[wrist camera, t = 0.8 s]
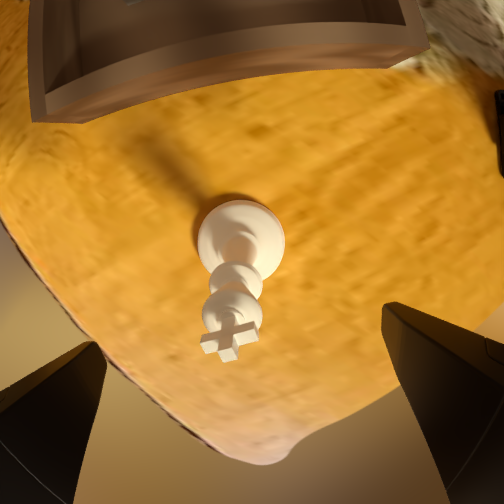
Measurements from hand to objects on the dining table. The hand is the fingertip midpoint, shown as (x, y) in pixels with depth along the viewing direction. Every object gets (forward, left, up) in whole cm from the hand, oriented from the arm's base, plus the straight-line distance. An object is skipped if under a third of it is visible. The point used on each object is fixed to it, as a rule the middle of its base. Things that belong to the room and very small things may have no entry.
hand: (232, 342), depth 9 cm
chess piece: (0, 0, -10) cm, 10 cm away
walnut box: (-1, -20, -9) cm, 22 cm away
